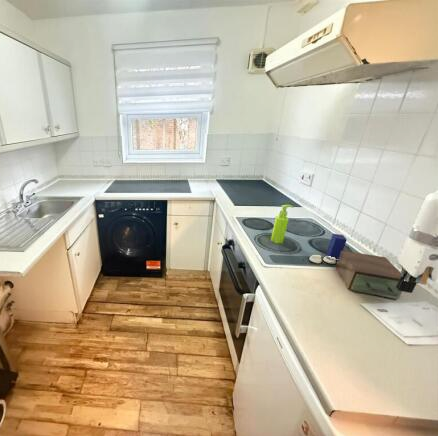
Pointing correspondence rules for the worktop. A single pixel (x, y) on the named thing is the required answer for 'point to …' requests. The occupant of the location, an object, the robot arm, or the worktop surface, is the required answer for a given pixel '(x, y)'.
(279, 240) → the soap dispenser
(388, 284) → the drawer
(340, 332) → the worktop surface
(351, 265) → the cabinet
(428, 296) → the worktop surface
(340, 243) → the box
